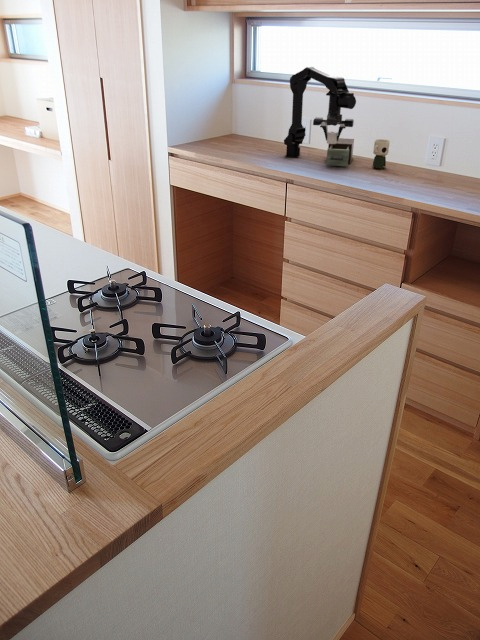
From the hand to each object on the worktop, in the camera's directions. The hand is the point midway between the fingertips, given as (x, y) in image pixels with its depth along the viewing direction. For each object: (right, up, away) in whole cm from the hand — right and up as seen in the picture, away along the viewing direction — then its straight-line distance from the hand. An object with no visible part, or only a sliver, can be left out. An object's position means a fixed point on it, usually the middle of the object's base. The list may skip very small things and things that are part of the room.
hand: (331, 140), depth 262 cm
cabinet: (+7, -4, +17) cm, 19 cm away
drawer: (+4, -10, +6) cm, 12 cm away
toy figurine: (+23, -13, +3) cm, 27 cm away
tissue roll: (0, -1, 0) cm, 1 cm away
